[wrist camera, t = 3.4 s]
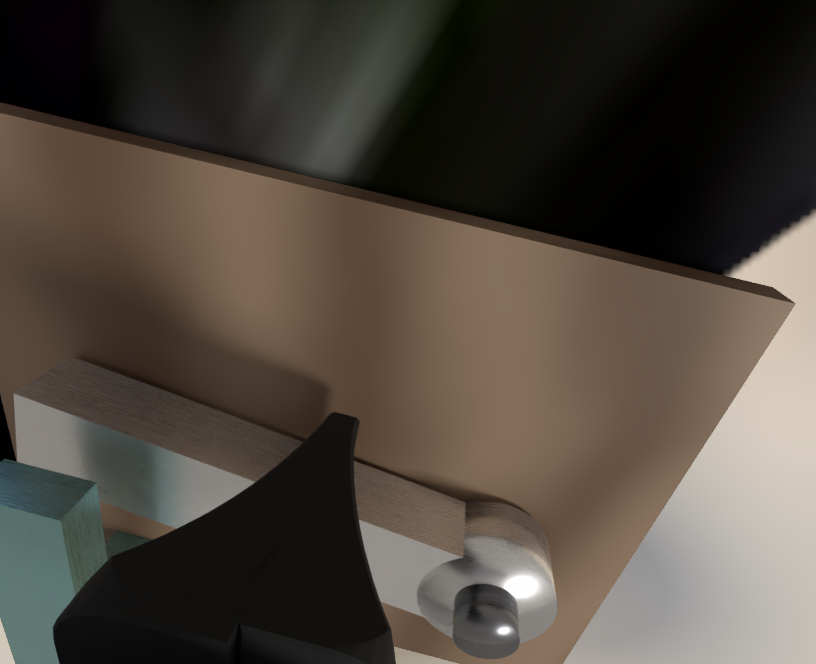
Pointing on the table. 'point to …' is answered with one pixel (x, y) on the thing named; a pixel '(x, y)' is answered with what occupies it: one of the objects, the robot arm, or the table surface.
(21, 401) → the latch bar
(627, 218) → the table surface
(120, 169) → the board
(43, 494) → the block
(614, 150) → the table surface
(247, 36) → the table surface
